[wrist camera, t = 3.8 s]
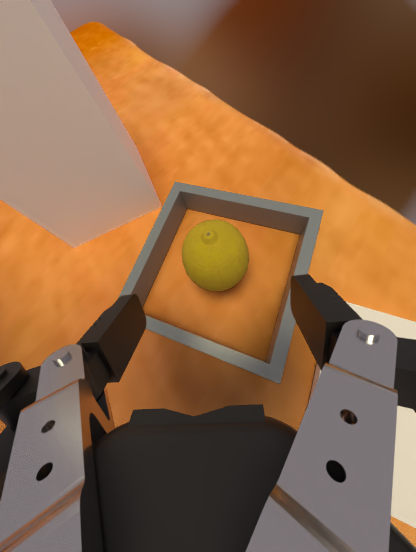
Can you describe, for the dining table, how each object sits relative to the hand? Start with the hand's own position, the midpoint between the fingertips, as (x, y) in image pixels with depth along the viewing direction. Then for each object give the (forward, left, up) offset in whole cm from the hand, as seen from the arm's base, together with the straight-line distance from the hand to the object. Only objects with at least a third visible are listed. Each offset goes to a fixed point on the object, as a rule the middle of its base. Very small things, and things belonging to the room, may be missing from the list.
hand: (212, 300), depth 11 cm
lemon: (-2, +4, -10) cm, 11 cm away
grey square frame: (-2, +4, -9) cm, 10 cm away
